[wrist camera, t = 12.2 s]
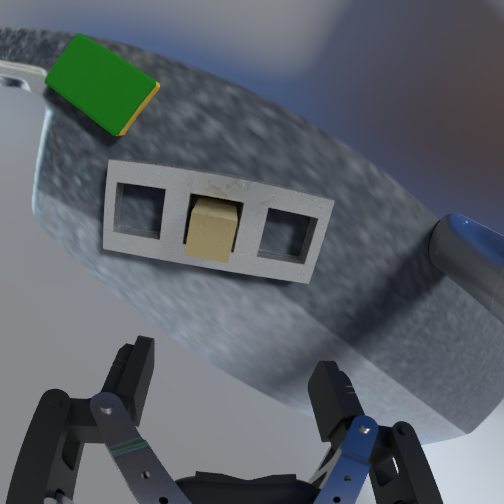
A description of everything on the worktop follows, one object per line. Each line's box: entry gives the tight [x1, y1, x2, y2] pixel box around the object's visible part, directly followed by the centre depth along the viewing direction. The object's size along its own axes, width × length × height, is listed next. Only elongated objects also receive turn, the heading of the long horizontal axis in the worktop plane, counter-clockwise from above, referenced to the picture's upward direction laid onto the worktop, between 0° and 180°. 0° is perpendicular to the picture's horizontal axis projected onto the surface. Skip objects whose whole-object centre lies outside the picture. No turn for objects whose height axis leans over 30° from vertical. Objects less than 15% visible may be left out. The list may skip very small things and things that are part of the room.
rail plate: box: [103, 158, 334, 284], centre depth 29 cm, size 24×10×2 cm, turn 78°
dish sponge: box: [45, 33, 160, 136], centre depth 22 cm, size 7×14×2 cm, turn 49°
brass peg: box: [185, 197, 238, 263], centre depth 27 cm, size 4×4×7 cm
